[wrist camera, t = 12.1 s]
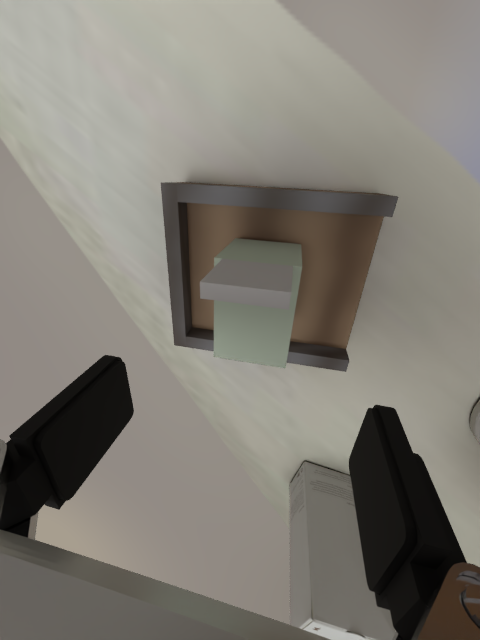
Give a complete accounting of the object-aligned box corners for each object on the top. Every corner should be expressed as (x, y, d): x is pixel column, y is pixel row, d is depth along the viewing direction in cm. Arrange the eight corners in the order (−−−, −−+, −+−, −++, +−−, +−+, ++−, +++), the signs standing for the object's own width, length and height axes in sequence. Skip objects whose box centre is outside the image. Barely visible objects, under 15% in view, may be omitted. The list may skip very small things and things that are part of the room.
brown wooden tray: (378, 193, 21) (398, 196, 17) (338, 342, 27) (346, 371, 23) (185, 182, 23) (160, 182, 19) (191, 322, 30) (174, 345, 26)
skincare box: (288, 482, 40) (283, 638, 26) (304, 457, 36) (308, 620, 23) (342, 501, 39) (366, 670, 26) (364, 477, 36) (403, 656, 23)
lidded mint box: (301, 241, 21) (303, 294, 11) (288, 319, 24) (282, 413, 14) (238, 235, 21) (189, 280, 12) (235, 312, 25) (194, 397, 15)
